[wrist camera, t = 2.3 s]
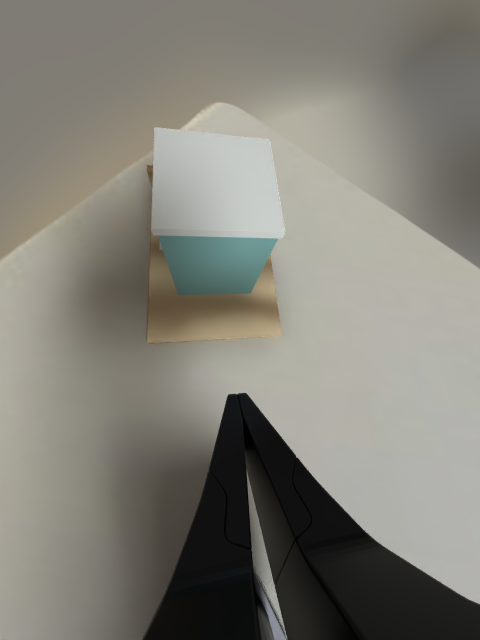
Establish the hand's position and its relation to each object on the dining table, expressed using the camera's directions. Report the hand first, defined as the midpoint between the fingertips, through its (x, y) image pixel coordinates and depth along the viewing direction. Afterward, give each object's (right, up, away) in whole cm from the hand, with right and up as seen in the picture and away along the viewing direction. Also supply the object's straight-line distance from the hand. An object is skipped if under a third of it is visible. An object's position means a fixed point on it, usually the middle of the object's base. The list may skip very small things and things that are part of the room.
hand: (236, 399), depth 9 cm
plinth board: (-3, +11, +16) cm, 19 cm away
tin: (-3, +10, +15) cm, 18 cm away
